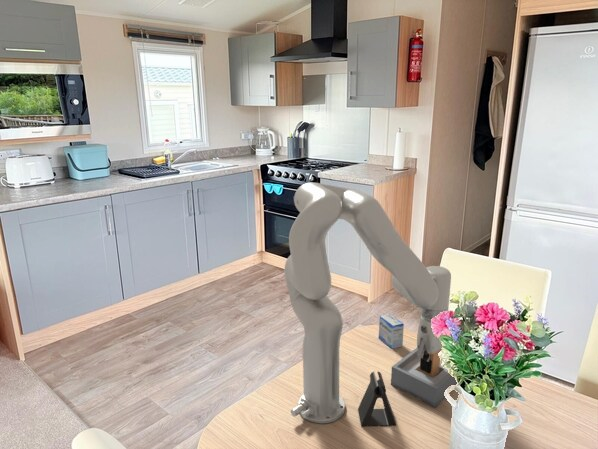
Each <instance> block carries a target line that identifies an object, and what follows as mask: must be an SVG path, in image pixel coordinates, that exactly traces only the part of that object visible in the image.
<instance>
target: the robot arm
mask: <svg viewBox="0 0 598 449" xmlns="http://www.w3.org/2000/svg"><path fill="white" fill-rule="evenodd" d="M293 196H294V197H293V198H294V199H293V202H294V206H295V208H296V210H297V211H298V212H299V214H298V215H297V217H295V218H296V219H295V220H294V222H293V223H292V225H291V228H290V230H289V235H288V246H289V252H290V255H289V256H288V257H287V259H286V260H285V263H284V277H285V281H286V287H287V290H288V295H289V300H290V303H291V309H292V310H293V312H294V314H295V315H296V317H297V319H298V320H299V322H300V323H301V325H302V327H303V329H304V337H303V342H302V369H303V370H302V375H303V376H302V379H303V394H302V395H301V396H300V397H299V399H298V403H297V406H295V407H293V408H292V409H291V410H290V413H291V416H292V417H294V418H295V417H297V416H298V415H301V416H302V418H303V419H306V420H307V421H309V422H311V423H316V424H328V423H332V422H335V421H337V420H339V419H340V418H341V417H342V416H343V415H344V413H345V411H346V402H345V400H344V398H343V397H342V395H340V348H341V346H340V344H341V336H342V332H343V325H344V324H343V317H342V314H341V312H340V310H339V309H338V306H336V304H335V303H334V302H333V301H332V300H331V299H330V298H329V297H328V296H327V295H328V294H329V292H330V291H331V287H332V275H331V270H330V266H329V259H328V256H327V248H326V247H327V246H326V238H327V235H328V233H329V231H330V230H331V228H333V226H334V225H335V223H336V222H338V220H344V221H345V222H346V223H348V224H350V225H351V226H352V228H353V229H354V231H355V232H356V234H357V235H358V236H359V237H360V239H361V241H363V243H364V245H365V247H366V248H367V249H368V251H369V253H370V254H371V255H372V257H373V258H374V259H375V261H377V262H378V263H379V264H380V265H381V266H382V267H383V268H384V269H385V270H387V272H389V273H390V274H391V275H392V276H391V280H390V281H391V286H392V288H393V289H394V290H395V291H396V292H397V293H398V294H399V295H401V296H402V297H403V298H404V299H406V300H407V301H409V302H410V303H411V304H412V305H413V306H415V307H416V308H419V316H420V317H419V322H418V328H417V335H416V348H418V352H417V356H418V357H420V358H421V361H420V369H421V370H423V371H425V372H427V373H429V374H430V373H431V366H432V361H431V355H432V354H434V353H436V352H437V351H438V350H440V349H442V348H443V347H442V344H441V342H440V341H439V339H438V338H437V337H435V336H434V334H433V332H432V328H431V319H432V318H433V317H435V316H437V315H438V314H439V313H440V312H443V311H448V312H449V306H450V305H449V304H450V294H451V285H452V284H451V283H452V281H451V280H452V274H451V271H450V270H449V269H448V268H446V267H443V266H439V265H430V266H427V267H426V266H425V264H424V263H423V262H422V261H421V259H420V258H419V257H418V256H417V254H415V253H414V251H413V250H412V248H411V247H410V246H409V245H408V244H407V243H406V242H405V240H404V239H403V238H402V237H401V235H400V233H399V232H398V230H397V229H396V227H395V226H394V224H393V222H392V221H391V219H390V218H389V215H388V214H387V213H386V211H385V209H384V208H383V207H382V206H383V205H381V203H380V202H379V201H378V200H377V199H376V198H375V197H374V196H372V195H369V194H368V193H365V192H363V191H360V190H358V189H354V188H353V189H352V188H348V187H341V186H335V185H330V184H325V183H320V182H313V181H312V182H307V183H304V184H302V185H300V186H299V187H298V188H297V190H296V191H295V193H294V195H293ZM424 352H427V353H428V356H427V355H426V354H424Z"/></svg>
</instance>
